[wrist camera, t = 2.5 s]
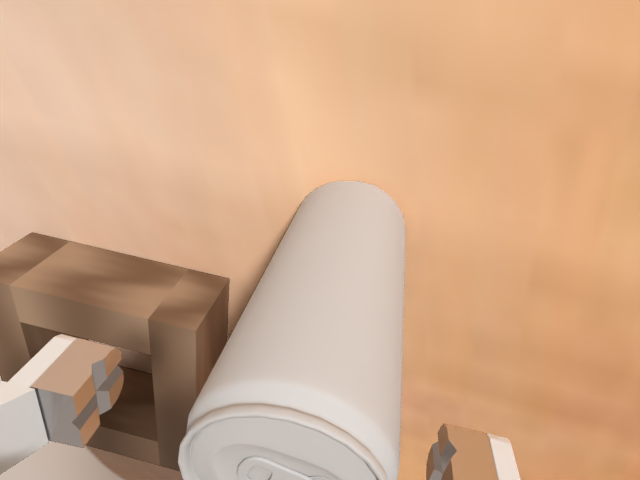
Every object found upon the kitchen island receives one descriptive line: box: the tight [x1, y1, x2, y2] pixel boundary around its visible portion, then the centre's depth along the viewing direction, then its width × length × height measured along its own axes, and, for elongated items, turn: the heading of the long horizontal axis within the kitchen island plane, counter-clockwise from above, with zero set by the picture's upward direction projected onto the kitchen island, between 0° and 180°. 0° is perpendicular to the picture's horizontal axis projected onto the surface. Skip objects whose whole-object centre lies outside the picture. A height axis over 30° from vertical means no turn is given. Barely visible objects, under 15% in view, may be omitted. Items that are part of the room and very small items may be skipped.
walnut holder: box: [0, 233, 229, 471], centre depth 24 cm, size 11×11×4 cm
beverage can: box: [178, 181, 406, 480], centre depth 14 cm, size 5×5×12 cm
